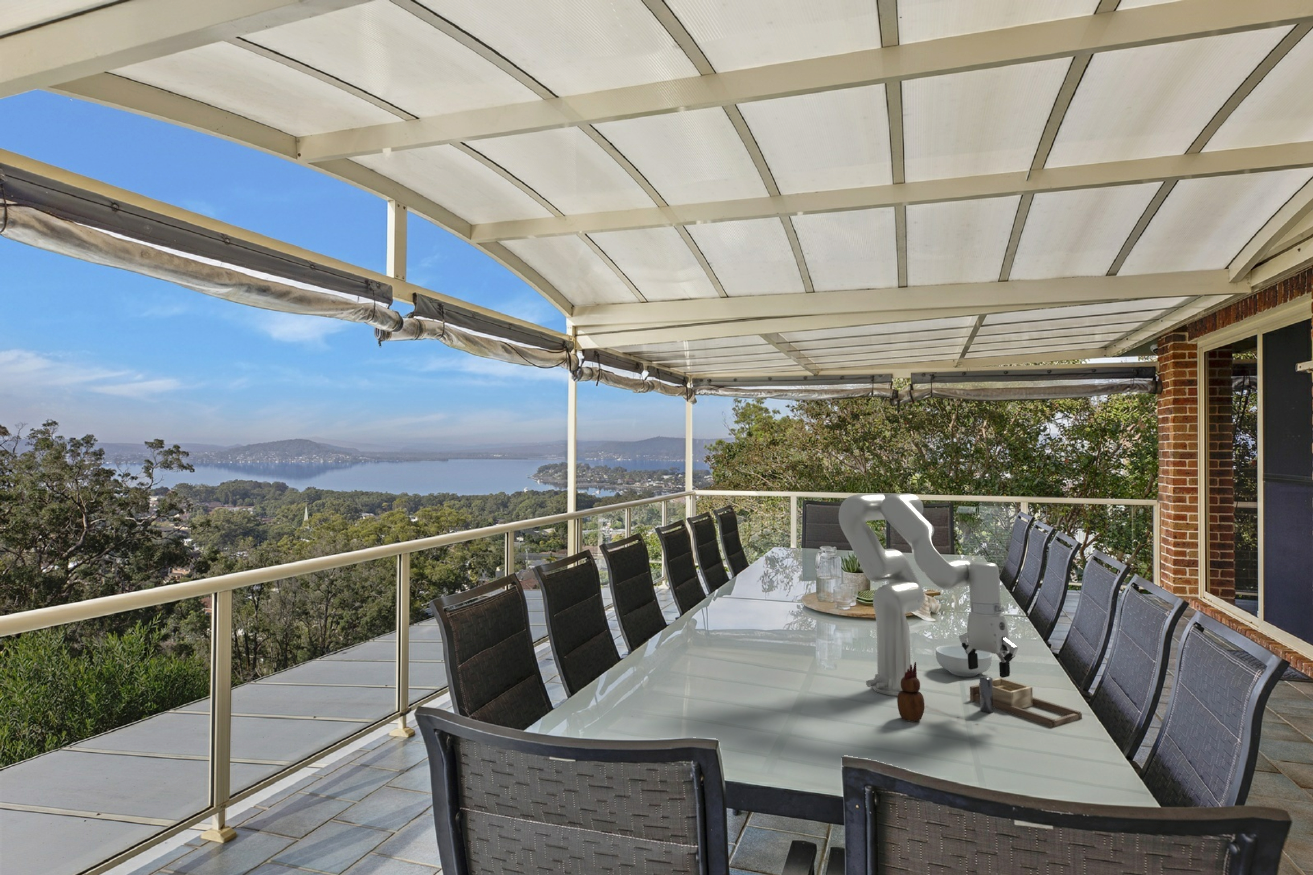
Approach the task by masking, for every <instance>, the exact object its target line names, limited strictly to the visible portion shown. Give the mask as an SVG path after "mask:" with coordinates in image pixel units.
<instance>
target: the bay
mask: <svg viewBox="0 0 1313 875" xmlns="http://www.w3.org/2000/svg"><path fill="white" fill-rule="evenodd" d="M969 701H971V702H976V703H978V704H980V695H979V684H975V685H972V686H969ZM1033 706H1034V707H1037V708H1040V709H1044V710H1047V711H1050V712H1054V713H1056V714H1060V715H1064V716H1061V717H1057V718H1053V717H1048V716H1046V715H1042V714H1039V713H1036V712H1034V711H1031V710H1027V709H1025V708H1022V709H1021V708H1018V707H1015V706H1012V705H1009V704H1006V703H1003V702H1000V701H997V700H994V699H993V709H996V710H999V711H1002V712H1005V713H1008V714H1012V715H1015V716H1017V717H1021V718H1023V719H1027V720H1030V721H1032V722H1035V723H1039V724H1042V725H1044V726H1046V727H1048V728H1055V727H1058V726H1062V725H1065V724H1069V723H1072V722H1075V721H1079V720H1082V719H1083V713H1082V712H1081V711H1080V710H1076V709H1073V708H1070V707H1066V706H1063V705H1060V704H1057V703H1053V702H1050V701H1048V700H1047V701H1046V700H1043V699H1041V698H1040V699H1039V698H1036V697H1035V696H1033Z"/></svg>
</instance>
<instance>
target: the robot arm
mask: <svg viewBox="0 0 1313 875" xmlns="http://www.w3.org/2000/svg"><path fill="white" fill-rule="evenodd" d="M923 514H924V504H923V502H922V500H921V499H920V497H918V495H915V494H913V493H909V492H907V493H906V492H905V493H894V492H893V493H892V492H891V493H890V492H889V493H886V492H876V493H875V492H873V493H857V494H854V495H851V496H848V497H847V498H846V499H844V500H843V501H842V502H841V504H840V507H839V510H838V523H839V526H840V529H841V530H842V532H843V534H844V536H845V538H846V540H847V541H848V543H849V544H850V547H851V548H852V551H853V553H854V556H855V557H856V560H857V562H858V563H859V566H860V568H861V570H862V572H863V574H864V576H865V577H866V579H867V580H868V581H870V582H872V583H873V582H874V583H880V582H886V581H887V582H888V583H886V584H883V585H881V586H879V587H877V589H876V590H875V592H874V594H873V597H872V604H873V605H872V606H873V610H874V616H875V622H876V625H875V626H876V653H877V655H876V656H877V657H876V658H877V659H876V660H877V661H876V662H877V665H876V666H877V667H876V668H877V674H875V675H874V678H873V679H869V680H868V679H867V680H866V682H865V684H866V687H868V688H871V687H872V689H873V691H875V692H878V693H880V694H882V695H883V694H884V695H887V696H893V697H895V696H896V697H897V696H898V693H899V692H900V691H902V688H901V679H902V678H903V677H904V676H905V672H907V669H909V671H910V665H912V664H911V630H910V625H909V622H908V618H907V616H906V614H909V613H913V612H916V611H919V610H920V609H921V608H922V607H924V606H923V605H924V603H925V591H924V589H923V586H922V584H921V582H920V581H919V578H918V577H917V574H916V573H915V571H914V569H913V567H912V564H911V563H910V561H909V559H908V558H907V557H906V555H905V554H904V553H903V552H901V551H900V550H898V549H895V548H884V547H883V546H882V544H881V542H880V540H879V537H878V536H877V534H876V533H875V531H874V530H873V529H872V528H871V527H870V526H869V525H868V524H867V521H868V522H869V521H871V522H872V521H878V520H879V521H881V520H883V521H885V520H886V521H887V522H888V523H889V525H891V527H892V528H894V529H895V531H896V532H897V533H898V534H899V535H900V536H901V537H902V538H903V540H905V542H906V543H907V544H908V545H909V546H910V547H911V552H912V553H911V554H912V555H913V557H914V560H915V562H916V565H917V566H918V568H919V569H920V570H921V571H922V572H923V573H924V575H925V576H926V577H927V578H928V579H929V580H930V581H931V582H932V583H933V584H935V585H936V586H937V587H938V588H941V589H943V590H951V589H956V588H963V587H967V586H969V587H968V588H969V604H970V611H969V612H968V619H967V626H966V628H967V631H966V632H965V633H962V634H961V635H958V639H959V641H960V643H961V646H962V647H963V648H964V649H965V653H966V654H968V668H969V669H970V670H972V669H976V668H978V655H977V653H975V652H976V651H977V650H980V651H985V652H989V653H991V654H995V655H997V657H998V658H999V660H1000V661H999V662H998V667H999V668H998V671H999V678H1002V679H1005V678H1007V677H1008V678H1009V677H1010V675H1011V674H1010V673H1011V668H1010V666H1011V665H1010V662H1012V661H1013V659H1014V658H1015V657H1016V655H1017V652H1018V649H1019V647H1018V646H1017V645H1015V644H1014V643H1013V642H1012V641H1010V638H1009V637H1010V636H1009V630H1008V625H1007V622H1006V621H1007V620H1006V617H1005V615H1004V614H1002V613H1003V612H1005V608H1004V606H1002V605H1001V588H1000V587H1001V586H1000V569H999V566H998V565H997V563H994V562H992V561H991V562H990V561H989V562H988V561H973V560H971V559H966V558H957V559H951V560H946V559H945V558H944V557H943V555H942V554H940V553H939V551H938V550H937V549H936V548H935V547H934V545H933V542H932V537H933V536H934V533H935V527H934V525H933V524H931V522H929V521H928V519H927V518H925V517H924V516H923Z"/></svg>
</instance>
